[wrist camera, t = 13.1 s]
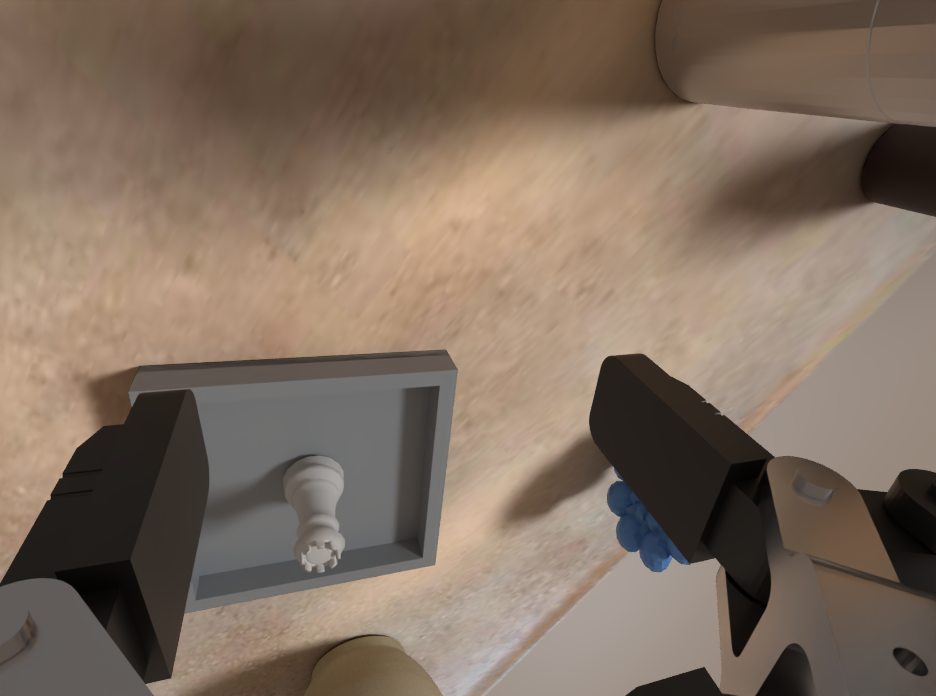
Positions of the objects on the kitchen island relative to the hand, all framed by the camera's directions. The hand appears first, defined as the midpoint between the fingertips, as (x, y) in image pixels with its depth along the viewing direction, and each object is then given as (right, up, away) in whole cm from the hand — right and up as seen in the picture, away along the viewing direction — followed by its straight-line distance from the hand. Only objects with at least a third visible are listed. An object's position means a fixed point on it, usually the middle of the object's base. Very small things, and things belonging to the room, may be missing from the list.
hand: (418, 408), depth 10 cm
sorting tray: (-11, -8, +30) cm, 33 cm away
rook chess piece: (-11, -8, +29) cm, 32 cm away
